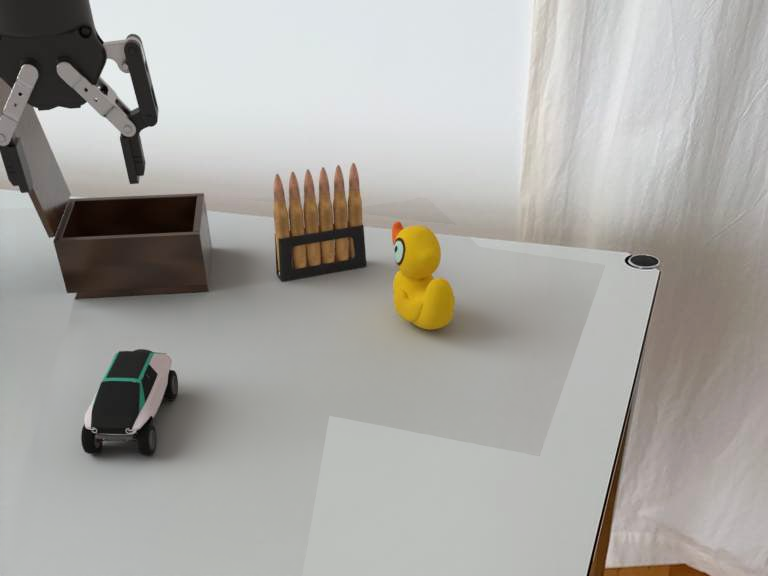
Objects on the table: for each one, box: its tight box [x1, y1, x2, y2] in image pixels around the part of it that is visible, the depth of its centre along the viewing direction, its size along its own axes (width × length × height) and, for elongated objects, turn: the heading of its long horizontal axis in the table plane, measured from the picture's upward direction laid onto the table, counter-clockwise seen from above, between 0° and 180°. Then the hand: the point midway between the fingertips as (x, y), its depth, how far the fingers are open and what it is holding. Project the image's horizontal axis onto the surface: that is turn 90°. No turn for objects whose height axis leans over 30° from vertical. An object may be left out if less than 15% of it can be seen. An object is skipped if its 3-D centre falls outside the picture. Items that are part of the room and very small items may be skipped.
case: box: [53, 192, 213, 299], centre depth 104 cm, size 16×12×7 cm
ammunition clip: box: [273, 162, 368, 282], centre depth 103 cm, size 11×2×12 cm, turn 112°
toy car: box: [80, 348, 179, 456], centre depth 82 cm, size 6×12×5 cm, turn 178°
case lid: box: [0, 78, 72, 239], centre depth 95 cm, size 16×12×1 cm
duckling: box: [391, 221, 456, 330], centre depth 95 cm, size 11×5×10 cm, turn 27°
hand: (81, 185), depth 73 cm, fingers open, 8 cm apart
